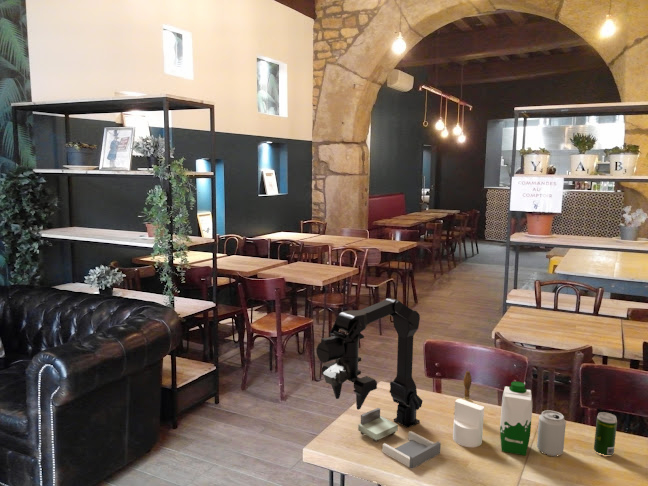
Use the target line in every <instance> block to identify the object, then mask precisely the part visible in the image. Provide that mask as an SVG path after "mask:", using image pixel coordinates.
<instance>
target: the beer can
mask: <svg viewBox="0 0 648 486" xmlns="http://www.w3.org/2000/svg"><path fill="white" fill-rule="evenodd" d="M617 425H618V420H617V416H616V415H615V414H612V413H609V412H604V411H603V412H598V413H597V416H596V424H595V434H594V442H593V443H594V444H593V450H594V452H595V451H596V452H598V453H601V454H604V455H612V454H613V453H615V444H616V436H617V427H618V426H617ZM596 452H595V453H596ZM613 455H614V454H613ZM613 455H612V456H613Z"/></svg>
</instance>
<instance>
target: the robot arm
mask: <svg viewBox="0 0 648 486" xmlns="http://www.w3.org/2000/svg"><path fill="white" fill-rule="evenodd" d="M388 316H390V317H392V321H393V322H392V323H393V328H394V329H395V331H396V333H397V354H396V355H397V359H396V360H397V361H396V363H397V364H396V376H395V378H394V380H391V381H390V382H389V386H390V387H389V388H390V389H389V393H390V397H392V400H393V403H396V404H397V409H396V417H395V418H393V422H394V423H396V424H398V425H401V426H403V427H405V428H410V427H412V426H414V425H417V424H418V423H420V420H419V419H418V418H417V411H418V410H420V408H422V405H423V402H424V401H423V399H422V398H421V397H420V396H419V395H418V393H417V385H416V383H415V381H414V379H413V359H414V358H413V356H414V355H413V353H414V352H413V351H414V335H415V334H416V332H417V331H418V330H419V326H420V318H421V317H420V316H421V315H420V313H419V312H418V311H417V310H415V309H412V308H410V307H408V306H407V305H406V304H404V303H402V302H401V301H400V300H398V299H395V298H391V297H388V298H385V299H384V300H382V301H380V302H377V303H375V304H372V305H370V306H367V307H364V308H362V309H359V310H355V309H354V310H351V309H350V310H345V311H342V312H340V313H338V316H337V318H336V319H335V321H334V323H333V325H332V327H331V329H330V331H329V333H328V335H329V337H323V338H321V340H320V342H319V343H318V344H317V346H316V350H315V351H316V356H317V358H318V360H319V361H320V362H322V363H324V365H323V366H322V367H321V375H322V376H323V379H324V381H325V383H326V384H329V385H331V387H332V391H333V394H334V397H335V399H336V400H339V399H340V396H341V393H342V388H343V384H344V383H345V382H347V381H349V382H351V383H353V388H354V389H353V390H352V391H353V393H354V394H356V395H355V396H356V397H355V399H356V402H355V403H356V404H355V405H356V406H355V407H356V410H361V408H362V407H363V404H364V402H365V400H366V398H367V397H368V395H369V394H370V392H371V391H374V390H377V389H378V381H377V380H376V379H375V378H372V377H370V376H368V375H365V376H363V377H359V375H362V371H361V369H359V363H360V362H362V357H360V356H359V348H360V347H359V344H360V343H359V341H360V340H361V339H364V338H365V335H363V334H362V333H361V332H363V331H364V330H366V328H367V326H368V325H369V324H372V323H373V322H376V321H379V320H381V319H382V318H383V319H384V318H386V317H388ZM343 332H344V333H343ZM331 361H333V362H331ZM325 363H327V364H325Z"/></svg>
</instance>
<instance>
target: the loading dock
mask: <svg viewBox="0 0 648 486" xmlns="http://www.w3.org/2000/svg"><path fill="white" fill-rule="evenodd" d="M407 439H408V440H409V441H407V442H405V443H403V444H401V445H399V446H397V447H395V448H394V447H393V446H391V445H389V444H387V443H385V442H384V443H383V444H382V450H381V451H382V453H384V454H385V455H387V456H389V457H390V458H392V459H394V460H396V461H398V462H399V463H401V464H402V465H405V466H406V467H407V468H409V469H412V470H413V469H415V468H417V467H419V466H420V465H422V464H424V463H426V462H428V461H430V460H431V459H433V458H435V457H437V456H438V455H440V454H441V442H440V441H436V442H434V441H433V440H432V441H431V440H429V439H428V438H426V437H424V436H422V435H420V434H418V433H416V432H414V431H412V430H410V431H408V438H407Z"/></svg>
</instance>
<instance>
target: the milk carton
mask: <svg viewBox="0 0 648 486" xmlns="http://www.w3.org/2000/svg"><path fill="white" fill-rule="evenodd" d="M532 400H533V397H532V390H531V389H527V388H526V383H524V382H523V381H518V380H515V381H512V382H511V383H510V386H504V390H503V392H502V399H501V407H500V409H501V410H500V422H499V423H500V424H499V433H500V435H499V436H500V437H499V438H500V447H501V449H500V450H501V452H504V453H505V452H506V453H511V454H515V455H521V456H525V457H526V455H527V451H528V448H529V443H530V439H531V438H530V437H531V428H532V418H533V417H532V415H533V401H532Z"/></svg>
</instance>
